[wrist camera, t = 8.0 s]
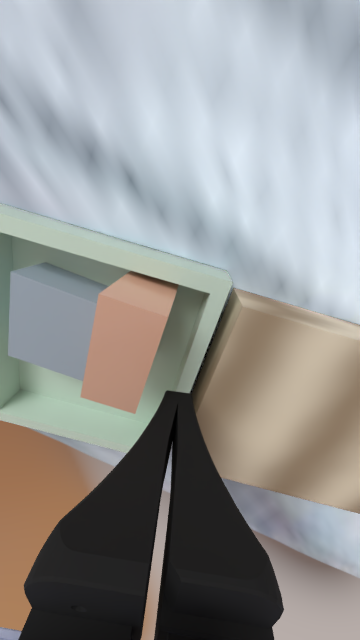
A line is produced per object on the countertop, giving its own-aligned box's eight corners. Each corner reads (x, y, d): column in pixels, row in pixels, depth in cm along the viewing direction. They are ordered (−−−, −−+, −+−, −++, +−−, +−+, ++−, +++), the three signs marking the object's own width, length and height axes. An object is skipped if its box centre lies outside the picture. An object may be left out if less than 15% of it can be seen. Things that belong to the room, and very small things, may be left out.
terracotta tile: (168, 317, 8) (98, 293, 7) (135, 414, 10) (80, 397, 10) (180, 281, 12) (136, 266, 12) (155, 352, 14) (118, 340, 14)
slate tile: (10, 271, 10) (45, 262, 12) (7, 355, 12) (38, 334, 14) (114, 310, 10) (129, 294, 13) (94, 385, 12) (110, 359, 15)
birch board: (488, 363, 13) (564, 400, 10) (364, 476, 18) (393, 522, 15) (233, 287, 12) (242, 306, 10) (178, 427, 17) (174, 465, 15)
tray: (226, 270, 12) (232, 282, 10) (167, 431, 18) (162, 462, 16) (1, 203, 12) (-48, 199, 9) (14, 390, 17) (-14, 416, 15)
